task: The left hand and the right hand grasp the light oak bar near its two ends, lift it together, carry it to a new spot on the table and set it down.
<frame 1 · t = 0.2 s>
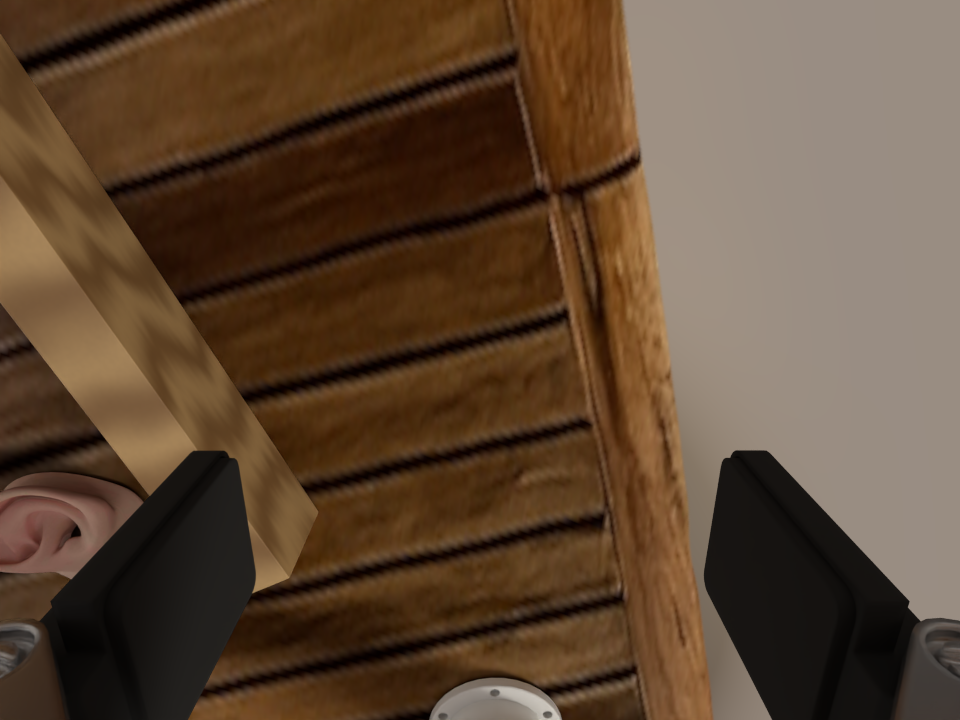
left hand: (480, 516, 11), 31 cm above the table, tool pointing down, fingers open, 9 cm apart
bar: (8, 106, 37), on the table
anatomical model: (87, 526, 48), on the table
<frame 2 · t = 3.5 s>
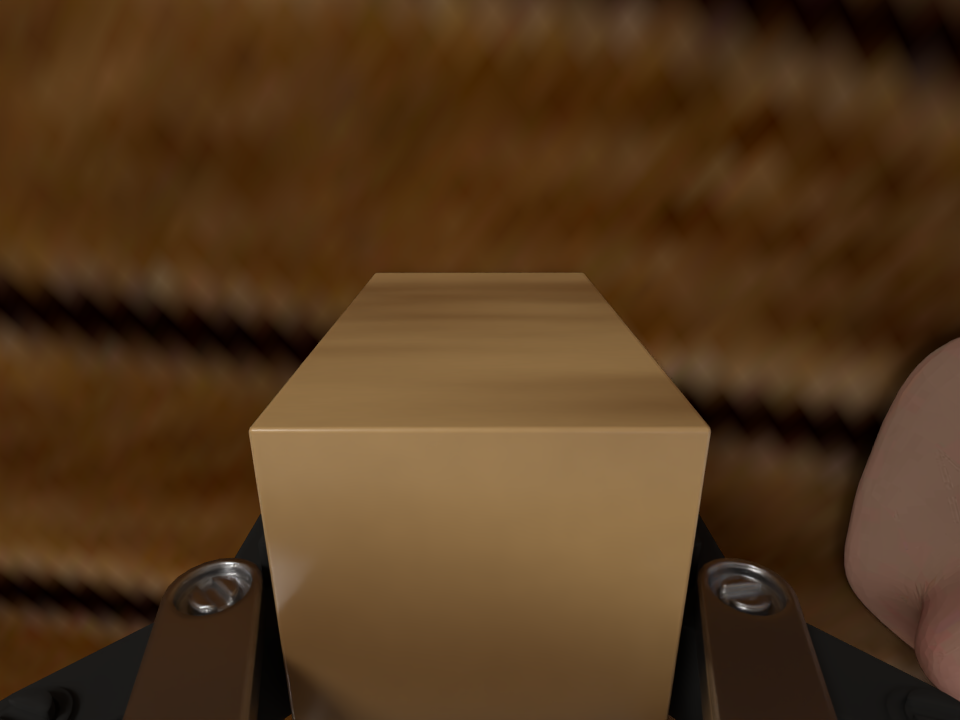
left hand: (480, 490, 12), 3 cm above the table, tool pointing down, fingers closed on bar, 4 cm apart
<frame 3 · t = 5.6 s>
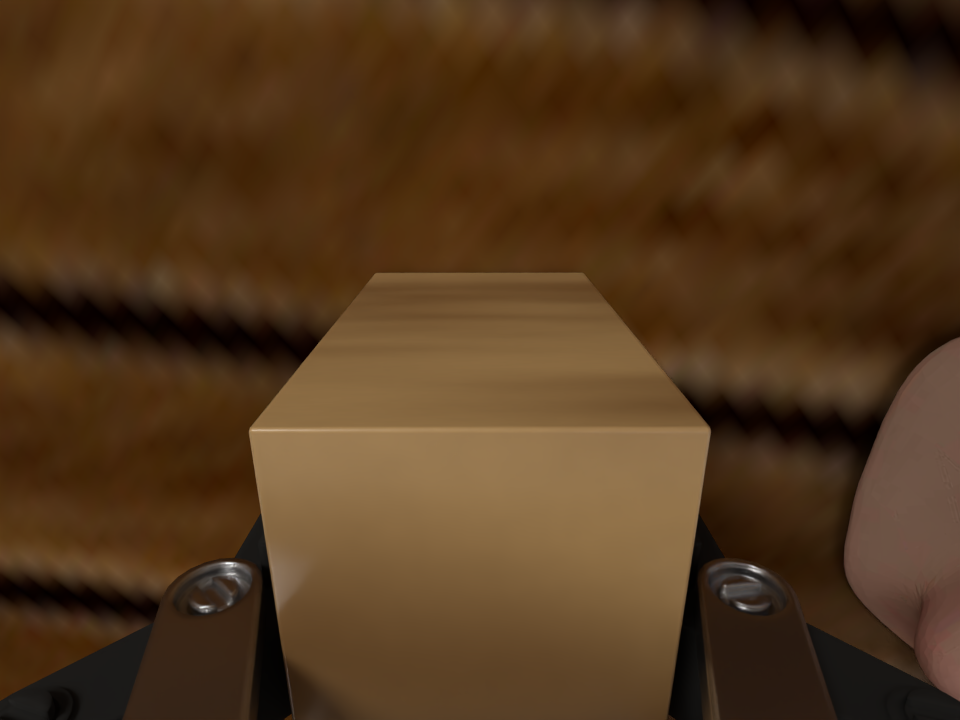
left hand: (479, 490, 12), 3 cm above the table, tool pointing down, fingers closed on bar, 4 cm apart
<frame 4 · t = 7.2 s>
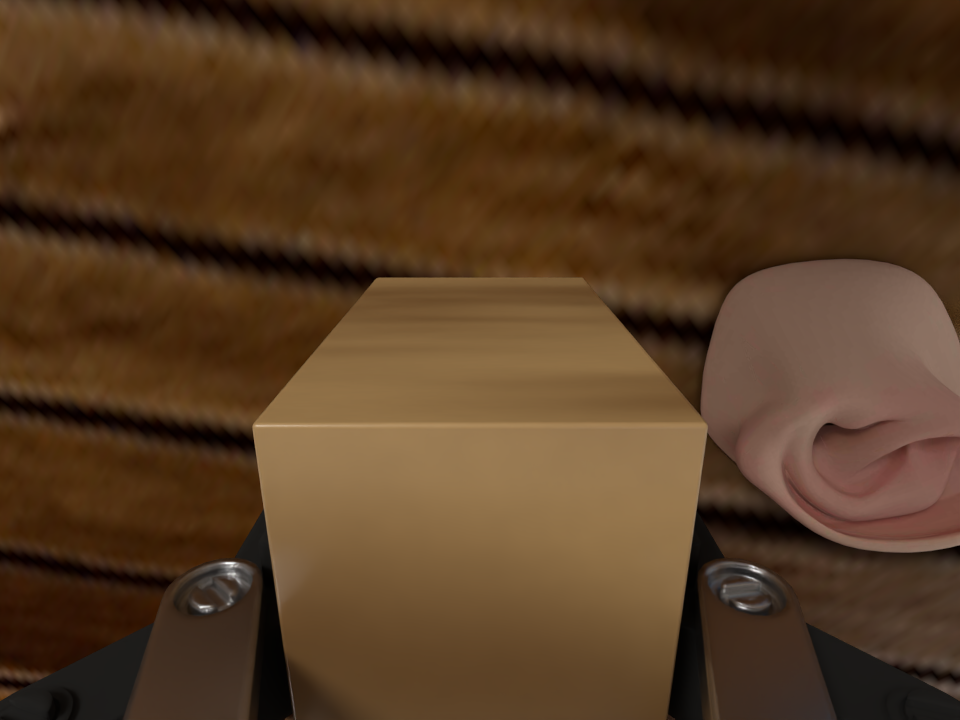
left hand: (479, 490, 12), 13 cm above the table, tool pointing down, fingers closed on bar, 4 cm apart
anatomical model: (831, 393, 26), on the table
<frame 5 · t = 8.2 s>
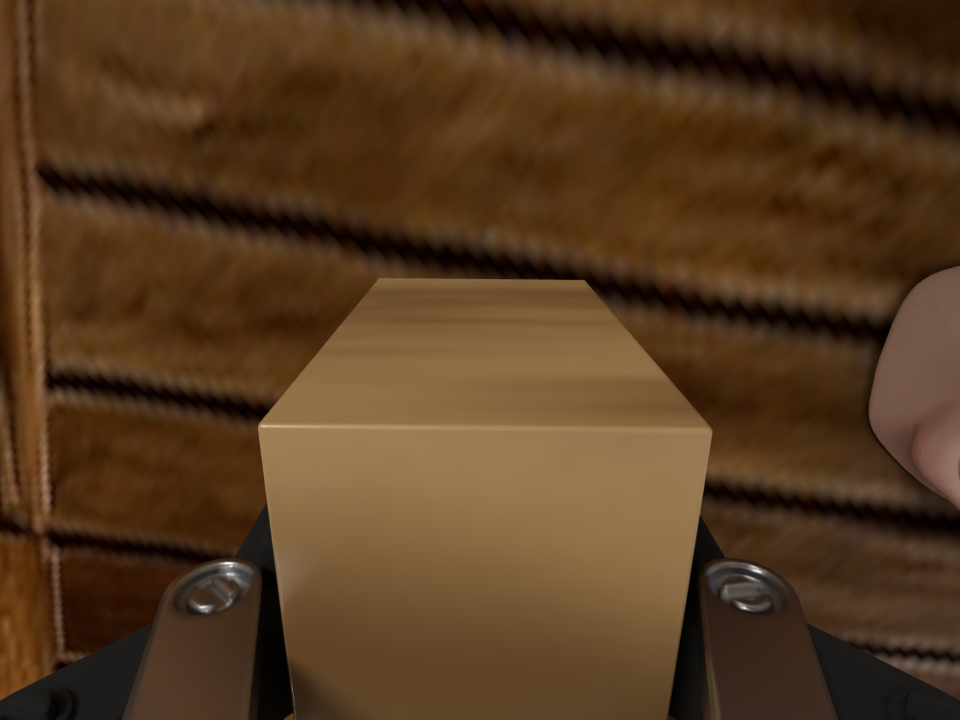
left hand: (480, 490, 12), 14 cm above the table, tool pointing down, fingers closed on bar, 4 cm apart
when the left hand's fingers open (4 cm above the table, at t = 11.1 s): bar stays where it is, on the table.
when the right hand's fingers open (4 cm above the table, at t = 11.2 s): bar stays where it is, on the table.
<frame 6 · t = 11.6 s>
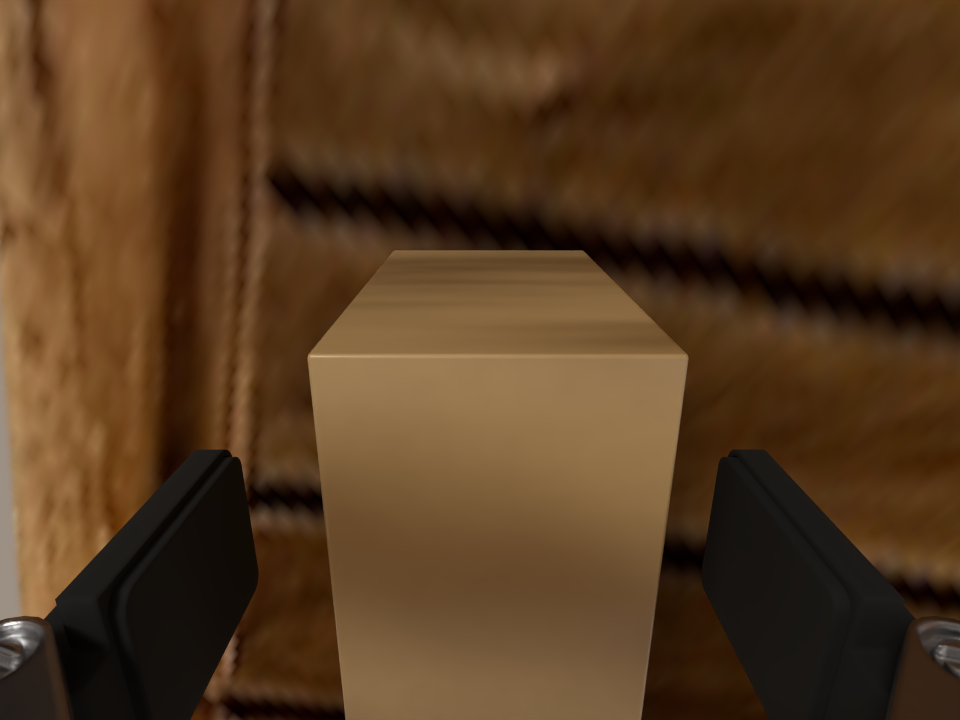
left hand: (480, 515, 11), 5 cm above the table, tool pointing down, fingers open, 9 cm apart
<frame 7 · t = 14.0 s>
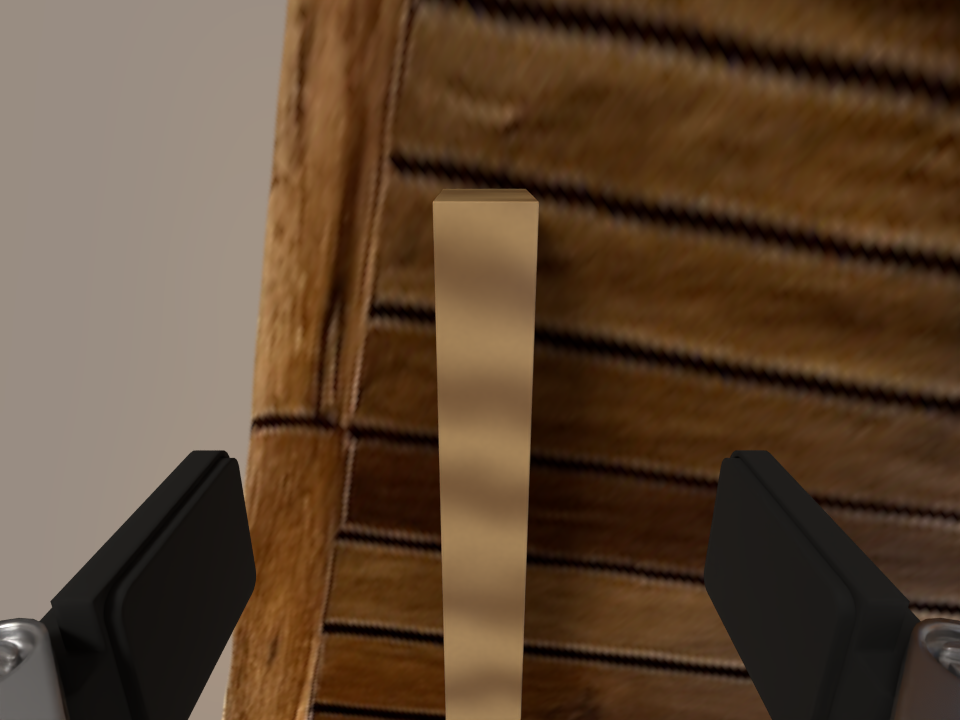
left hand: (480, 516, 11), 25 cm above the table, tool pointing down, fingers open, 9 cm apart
bar: (482, 652, 45), on the table
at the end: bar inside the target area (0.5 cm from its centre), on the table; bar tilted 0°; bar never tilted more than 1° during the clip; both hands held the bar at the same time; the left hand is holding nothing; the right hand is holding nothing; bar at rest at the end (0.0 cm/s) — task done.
